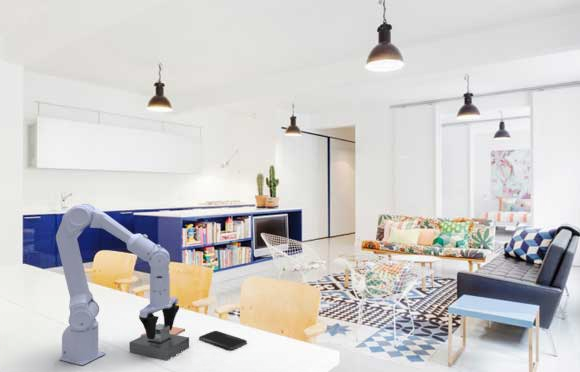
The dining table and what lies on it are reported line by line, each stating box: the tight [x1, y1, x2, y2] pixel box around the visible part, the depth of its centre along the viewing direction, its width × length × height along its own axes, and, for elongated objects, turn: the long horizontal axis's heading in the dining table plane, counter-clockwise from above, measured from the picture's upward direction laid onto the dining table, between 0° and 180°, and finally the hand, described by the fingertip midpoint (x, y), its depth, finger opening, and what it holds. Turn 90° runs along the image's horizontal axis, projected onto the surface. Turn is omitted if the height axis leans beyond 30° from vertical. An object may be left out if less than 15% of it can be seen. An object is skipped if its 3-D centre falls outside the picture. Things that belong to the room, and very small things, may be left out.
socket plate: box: [129, 334, 190, 361], centre depth 120 cm, size 14×10×3 cm
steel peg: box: [150, 323, 170, 344], centre depth 120 cm, size 4×4×7 cm
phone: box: [198, 330, 248, 352], centre depth 127 cm, size 8×1×15 cm
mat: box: [140, 326, 186, 337], centre depth 134 cm, size 10×10×1 cm
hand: (159, 334), depth 120 cm, fingers open, 7 cm apart
